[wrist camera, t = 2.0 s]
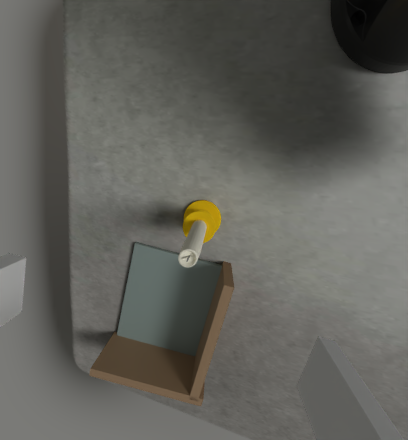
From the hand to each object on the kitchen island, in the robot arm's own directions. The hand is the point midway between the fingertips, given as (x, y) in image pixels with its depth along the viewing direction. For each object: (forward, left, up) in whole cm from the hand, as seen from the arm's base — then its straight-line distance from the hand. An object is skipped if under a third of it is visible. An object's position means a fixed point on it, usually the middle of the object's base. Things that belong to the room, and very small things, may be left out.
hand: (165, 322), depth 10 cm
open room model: (+14, -2, -22) cm, 26 cm away
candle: (0, 0, -22) cm, 22 cm away
